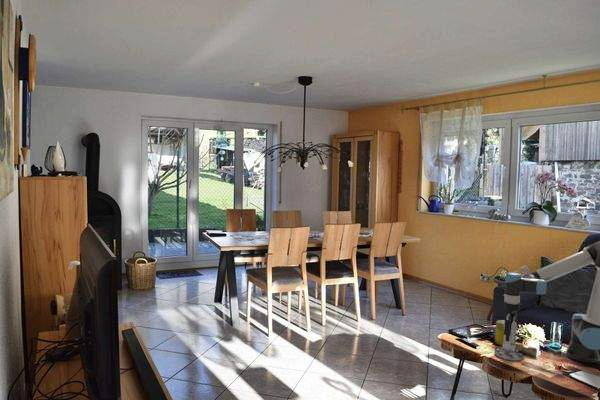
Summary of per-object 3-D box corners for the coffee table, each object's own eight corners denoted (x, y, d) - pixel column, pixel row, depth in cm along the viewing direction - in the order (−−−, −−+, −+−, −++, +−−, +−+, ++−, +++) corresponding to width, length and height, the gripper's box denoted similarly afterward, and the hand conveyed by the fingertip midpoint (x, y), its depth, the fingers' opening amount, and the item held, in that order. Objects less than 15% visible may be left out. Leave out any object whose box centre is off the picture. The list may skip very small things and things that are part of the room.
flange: (526, 355, 250) (526, 352, 250) (518, 363, 239) (519, 359, 239) (499, 348, 259) (499, 345, 259) (490, 355, 248) (491, 352, 248)
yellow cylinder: (512, 347, 262) (513, 326, 261) (495, 344, 266) (496, 323, 265) (511, 341, 270) (512, 321, 270) (494, 339, 274) (496, 319, 273)
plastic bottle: (515, 355, 245) (517, 318, 243) (501, 352, 248) (503, 315, 247) (516, 351, 250) (518, 315, 249) (503, 349, 254) (505, 312, 252)
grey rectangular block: (536, 355, 251) (537, 347, 250) (534, 357, 247) (534, 349, 247) (516, 350, 257) (517, 342, 257) (514, 352, 254) (514, 344, 253)
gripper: (509, 297, 257) (507, 338, 258) (498, 304, 242) (496, 348, 244) (524, 300, 252) (522, 342, 254) (514, 307, 238) (511, 352, 239)
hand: (509, 345), depth 249 cm, fingers closed on plastic bottle, 6 cm apart
